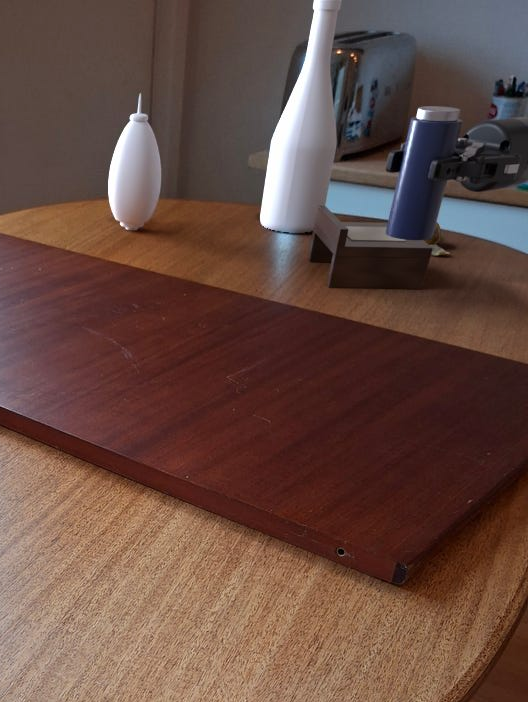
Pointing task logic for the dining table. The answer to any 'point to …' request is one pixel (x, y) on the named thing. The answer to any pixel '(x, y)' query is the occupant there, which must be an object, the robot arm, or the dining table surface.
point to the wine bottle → (304, 136)
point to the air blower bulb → (135, 173)
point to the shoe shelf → (367, 254)
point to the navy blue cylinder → (422, 173)
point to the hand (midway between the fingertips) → (411, 166)
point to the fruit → (436, 242)
